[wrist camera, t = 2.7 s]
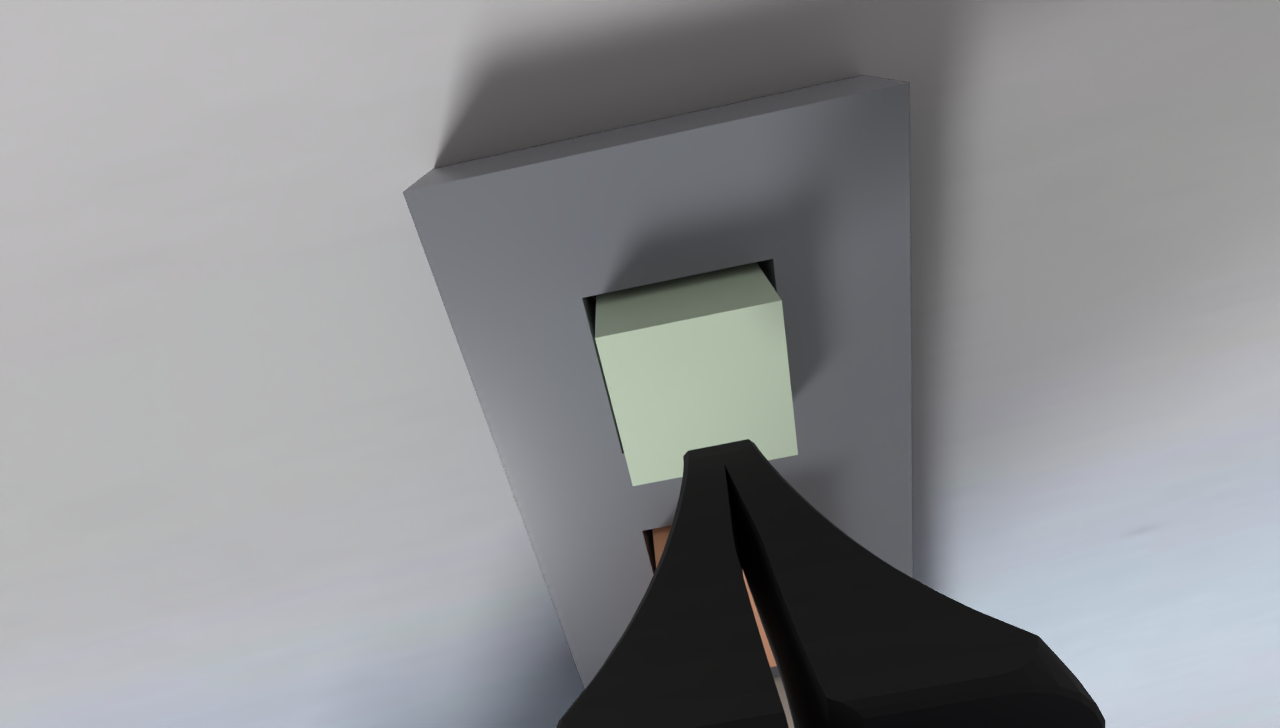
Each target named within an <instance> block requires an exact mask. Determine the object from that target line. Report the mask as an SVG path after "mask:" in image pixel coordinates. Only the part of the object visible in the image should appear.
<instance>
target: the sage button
mask: <svg viewBox="0 0 1280 728" xmlns="http://www.w3.org/2000/svg"><path fill="white" fill-rule="evenodd" d="M595 341H596V344H597V348H598V352H599V356H600V360H601V364H602V368H603V372H604V376H605V380H606V384H607V387H608V391H609V395H610V399H611V403H612V407H613V411H614V415H615V419H616V423H617V427H618V430H619V434H620V438H621V442H622V446H623V450H624V454H625V458H626V462H627V466H628V469H629V473H630V477H631V481H632V485H633V486H637V485H642V484H647V483H653V482H658V481H663V480H668V479H674V478H679V477H683V467H684V461H683V456H684V455H685V454H686V452H687V451H689V450H694V449H699V448H704V447H710V446H715V445H720V444H725V443H730V442H736V441H741V440H746V439H749V440H751V441H752V442H754V443H755V445H756V446H757V447H758V449H759V450H760V451H761V453H762V454H763V455H764V456H765V458H766V459H767V460H773V459H778V458H783V457H789V456H794V455H798V449H797V440H796V430H795V421H794V411H793V402H792V392H791V383H790V373H789V364H788V354H787V345H786V335H785V326H784V317H783V307H782V300H781V298H780V297H779V295H778V294H777V292H776V291H775V289H774V288H773V286H772V285H771V283H770V282H769V280H768V279H767V277H766V276H765V274H764V273H763V271H762V270H761V268H760V267H759V265H758V264H757V262H754V263H749V264H744V265H740V266H735V267H730V268H725V269H720V270H715V271H710V272H706V273H701V274H696V275H691V276H686V277H681V278H676V279H672V280H667V281H662V282H657V283H652V284H647V285H642V286H638V287H633V288H628V289H623V290H618V291H613V292H608V293H604V294H599V295H596V320H595Z"/></svg>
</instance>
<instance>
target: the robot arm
mask: <svg viewBox="0 0 1280 728" xmlns="http://www.w3.org/2000/svg"><path fill="white" fill-rule="evenodd" d="M683 461H684V467H683V478H682V484H681V490H680V495H679V499H678V503H677V507H676V511H675V515H674V519H673V523H672V526H671V529H670V532H669V535H668V538H667V541H666V544H665V547H664V550H663V553H662V556H661V558H660V561H659V563H658V566H657V568H656V570H655V573H654V575H653V577H652V580H651V582H650V584H649V586H648V588H647V590H646V593H645V595H644V597H643V598H642V600H641V602H640V604H639V606H638V608H637V610H636V612H635V614H634V616H633V617H632V619H631V621H630V623H629V625H628V626H627V628H626V630H625V631H624V633H623V635H622V636H621V638H620V639H619V641H618V642H617V644H616V645H615V647H614V648H613V650H612V651H611V653H610V654H609V656H608V658H607V659H606V661H605V662H604V664H603V665H602V667H601V668H600V670H599V671H598V672H597V674H596V675H595V677H594V678H593V679H592V681H591V682H590V683H589V684H588V686H587V687H586V688H585V689H584V691H583V692H582V693H581V694H580V696H579V697H578V698H577V699H576V701H575V702H574V703H573V704H572V706H571V707H570V708H569V709H568V711H567V712H566V713H565V714H564V716H563V717H562V718H561V719H560V720H559V722H558V725H557V728H789V727H788V723H787V719H786V715H785V712H784V709H783V706H782V703H781V699H780V696H779V693H778V690H777V687H776V684H775V681H774V678H773V675H772V672H771V668H770V665H769V662H768V659H767V656H766V653H765V649H764V646H763V643H762V639H761V636H760V633H759V629H758V626H757V623H756V619H755V616H754V613H753V609H752V606H751V602H750V599H749V595H748V592H747V588H746V585H745V581H744V577H743V572H744V575H745V578H746V581H747V583H748V586H749V589H750V592H751V595H752V597H753V600H754V603H755V606H756V609H757V612H758V614H759V617H760V620H761V623H762V625H763V628H764V631H765V634H766V637H767V639H768V642H769V645H770V648H771V651H772V653H773V656H774V659H775V662H776V665H777V667H778V671H779V674H780V677H781V680H782V683H783V687H784V690H785V693H786V697H787V701H788V705H789V709H790V713H791V716H792V720H793V724H794V728H1105V719H1104V717H1103V715H1102V713H1101V712H1100V710H1099V708H1098V706H1097V704H1096V703H1095V702H1094V700H1093V699H1092V698H1091V696H1090V695H1089V693H1088V692H1087V691H1086V689H1085V688H1084V687H1083V685H1082V684H1081V683H1080V681H1079V680H1078V679H1077V678H1076V676H1075V675H1074V674H1073V673H1072V672H1071V671H1070V670H1069V669H1068V667H1067V666H1066V665H1065V664H1064V663H1063V662H1062V661H1061V660H1060V659H1059V657H1058V656H1057V655H1056V654H1055V653H1054V652H1053V651H1052V650H1051V649H1050V648H1049V647H1048V646H1047V645H1046V643H1045V642H1044V641H1043V640H1042V639H1041V638H1040V637H1039V636H1037V635H1035V634H1032V633H1030V632H1028V631H1025V630H1023V629H1020V628H1018V627H1015V626H1013V625H1010V624H1008V623H1005V622H1003V621H1000V620H998V619H996V618H993V617H991V616H988V615H986V614H983V613H981V612H978V611H976V610H974V609H972V608H969V607H967V606H965V605H963V604H961V603H959V602H957V601H955V600H953V599H951V598H949V597H947V596H945V595H943V594H941V593H938V592H937V591H935V590H933V589H931V588H929V587H928V586H926V585H924V584H922V583H920V582H919V581H917V580H915V579H913V578H912V577H910V576H908V575H906V574H905V573H903V572H901V571H899V570H898V569H896V568H894V567H893V566H891V565H890V564H888V563H887V562H885V561H883V560H882V559H880V558H879V557H877V556H876V555H874V554H873V553H871V552H870V551H869V550H867V549H866V548H864V547H863V546H861V545H860V544H859V543H857V542H856V541H854V540H853V539H852V538H850V537H849V536H848V535H847V534H845V533H844V532H843V531H841V530H840V529H839V528H838V527H836V526H835V525H834V524H833V523H832V522H830V521H829V520H828V519H827V518H826V517H824V516H823V515H822V514H821V513H820V512H819V511H817V510H816V509H815V508H814V507H813V506H812V505H811V504H810V503H809V502H807V501H806V500H805V499H804V498H803V497H802V496H801V495H800V494H799V493H798V492H797V491H796V490H795V489H794V488H793V487H792V486H791V485H790V484H789V483H788V482H787V481H786V480H785V479H784V478H783V477H782V476H781V475H780V474H779V472H778V471H777V470H776V469H775V468H774V467H773V466H772V465H771V464H770V462H769V461H768V460H767V459H766V458H765V456H764V455H763V454H762V453H761V451H760V450H759V449H758V447H757V446H756V445H755V443H754V442H752V441H751V440H749V439H746V440H741V441H736V442H730V443H725V444H720V445H715V446H710V447H704V448H699V449H694V450H689V451H687V452H686V454H685V455H684V456H683ZM742 569H743V570H742Z"/></svg>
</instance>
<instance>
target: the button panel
mask: <svg viewBox="0 0 1280 728" xmlns="http://www.w3.org/2000/svg"><path fill="white" fill-rule="evenodd" d="M403 194H404V197H405V199H406V202H407V205H408V208H409V210H410V213H411V216H412V219H413V221H414V224H415V227H416V229H417V232H418V235H419V238H420V240H421V243H422V246H423V249H424V251H425V254H426V257H427V260H428V262H429V265H430V268H431V271H432V273H433V276H434V279H435V281H436V284H437V287H438V290H439V292H440V295H441V298H442V301H443V303H444V306H445V309H446V312H447V314H448V317H449V320H450V323H451V325H452V328H453V331H454V333H455V336H456V339H457V342H458V344H459V347H460V350H461V353H462V355H463V358H464V361H465V364H466V366H467V369H468V372H469V375H470V377H471V380H472V383H473V386H474V388H475V391H476V394H477V396H478V399H479V402H480V405H481V407H482V410H483V413H484V416H485V418H486V421H487V424H488V427H489V429H490V432H491V435H492V438H493V440H494V443H495V446H496V448H497V451H498V454H499V457H500V459H501V462H502V465H503V468H504V470H505V473H506V476H507V479H508V481H509V484H510V487H511V490H512V492H513V495H514V498H515V501H516V503H517V506H518V509H519V511H520V514H521V517H522V520H523V522H524V525H525V528H526V531H527V533H528V536H529V539H530V542H531V544H532V547H533V550H534V553H535V555H536V558H537V561H538V563H539V566H540V569H541V572H542V574H543V577H544V580H545V583H546V585H547V588H548V591H549V594H550V596H551V599H552V602H553V605H554V607H555V610H556V613H557V615H558V618H559V621H560V624H561V626H562V629H563V632H564V635H565V637H566V640H567V643H568V646H569V648H570V651H571V654H572V657H573V659H574V662H575V665H576V668H577V670H578V673H579V676H580V678H581V681H582V684H583V687H584V689H585V688H586V687H587V686H588V684H589V683H590V682H591V681H592V679H593V678H594V677H595V675H596V674H597V672H598V671H599V670H600V668H601V667H602V665H603V664H604V662H605V661H606V659H607V658H608V656H609V654H610V653H611V651H612V650H613V648H614V647H615V645H616V644H617V642H618V641H619V639H620V638H621V636H622V635H623V633H624V631H625V630H626V628H627V626H628V625H629V623H630V621H631V619H632V617H633V616H634V614H635V612H636V610H637V608H638V606H639V604H640V602H641V600H642V598H643V597H644V595H645V593H646V590H647V588H648V586H649V584H650V582H651V580H652V577H653V575H654V573H655V570H656V560H655V549H654V539H653V532H652V529H655V528H660V527H665V526H671V525H672V523H673V519H674V515H675V511H676V507H677V503H678V499H679V495H680V490H681V484H682V478H683V477H679V478H674V479H668V480H663V481H658V482H653V483H647V484H642V485H637V486H633V485H632V481H631V477H630V473H629V469H628V466H627V462H626V458H625V454H624V450H623V446H622V442H621V438H620V434H619V430H618V427H617V423H616V419H615V415H614V411H613V407H612V403H611V399H610V395H609V391H608V387H607V384H606V380H605V376H604V372H603V368H602V364H601V360H600V356H599V352H598V348H597V344H596V341H595V320H596V303H595V299H594V295H599V294H604V293H608V292H613V291H618V290H623V289H628V288H633V287H638V286H642V285H647V284H652V283H657V282H662V281H667V280H672V279H676V278H681V277H686V276H691V275H696V274H701V273H706V272H710V271H715V270H720V269H725V268H730V267H735V266H740V265H744V264H749V263H754V262H757V264H758V265H759V267H760V268H761V270H762V271H763V273H764V274H765V276H766V277H767V279H768V280H769V282H770V283H771V285H772V286H773V288H774V289H775V291H776V292H777V294H778V295H779V297H780V298H781V300H782V307H783V317H784V326H785V335H786V345H787V354H788V364H789V373H790V383H791V392H792V402H793V411H794V421H795V430H796V440H797V449H798V455H794V456H789V457H783V458H778V459H773V460H768V461H769V462H770V464H771V465H772V466H773V467H774V468H775V469H776V470H777V471H778V472H779V474H780V475H781V476H782V477H783V478H784V479H785V480H786V481H787V482H788V483H789V484H790V485H791V486H792V487H793V488H794V489H795V490H796V491H797V492H798V493H799V494H800V495H801V496H802V497H803V498H804V499H805V500H806V501H807V502H809V503H810V504H811V505H812V506H813V507H814V508H815V509H816V510H817V511H819V512H820V513H821V514H822V515H823V516H824V517H826V518H827V519H828V520H829V521H830V522H832V523H833V524H834V525H835V526H836V527H838V528H839V529H840V530H841V531H843V532H844V533H845V534H847V535H848V536H849V537H850V538H852V539H853V540H854V541H856V542H857V543H859V544H860V545H861V546H863V547H864V548H866V549H867V550H869V551H870V552H871V553H873V554H874V555H876V556H877V557H879V558H880V559H882V560H883V561H885V562H887V563H888V564H890V565H891V566H893V567H894V568H896V569H898V570H899V571H901V572H903V573H905V574H906V575H908V576H910V577H912V578H913V546H912V399H911V252H910V105H909V82H903V81H897V80H890V79H884V78H878V77H871V76H865V75H861V76H857V77H852V78H848V79H843V80H838V81H834V82H829V83H825V84H820V85H815V86H811V87H806V88H802V89H797V90H792V91H788V92H783V93H779V94H774V95H769V96H765V97H760V98H756V99H751V100H747V101H742V102H737V103H733V104H728V105H724V106H719V107H714V108H710V109H705V110H701V111H696V112H691V113H687V114H682V115H678V116H673V117H668V118H664V119H659V120H655V121H650V122H646V123H641V124H636V125H632V126H627V127H623V128H618V129H613V130H609V131H604V132H600V133H595V134H590V135H586V136H581V137H577V138H572V139H568V140H563V141H558V142H554V143H549V144H545V145H540V146H535V147H531V148H526V149H522V150H517V151H512V152H508V153H503V154H499V155H494V156H489V157H485V158H480V159H476V160H471V161H467V162H462V163H457V164H453V165H448V166H444V167H439V168H434V169H432V170H431V171H429V172H428V173H427V174H426V175H424V176H423V177H422V178H420V179H419V180H418V181H417V182H415V183H414V184H413V185H411V186H410V187H409V188H408V189H406V190H405V191H404V192H403ZM770 668H771V672H772V675H773V678H775V677H780V674H779V671H778V667H777V666H774V667H770Z"/></svg>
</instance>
